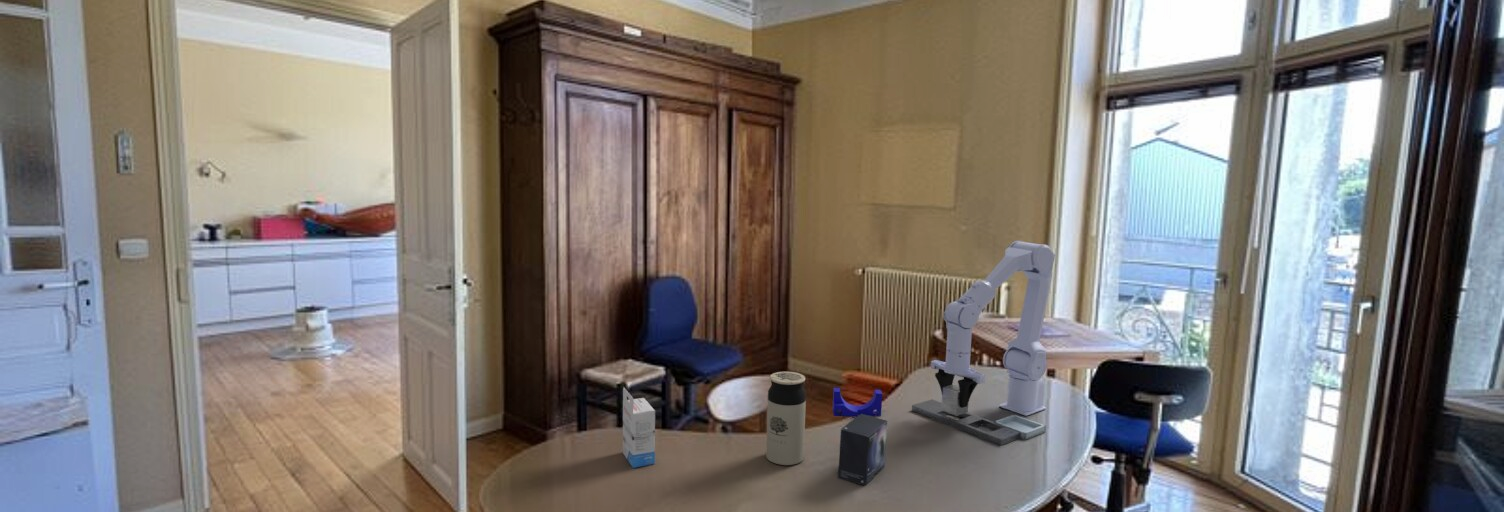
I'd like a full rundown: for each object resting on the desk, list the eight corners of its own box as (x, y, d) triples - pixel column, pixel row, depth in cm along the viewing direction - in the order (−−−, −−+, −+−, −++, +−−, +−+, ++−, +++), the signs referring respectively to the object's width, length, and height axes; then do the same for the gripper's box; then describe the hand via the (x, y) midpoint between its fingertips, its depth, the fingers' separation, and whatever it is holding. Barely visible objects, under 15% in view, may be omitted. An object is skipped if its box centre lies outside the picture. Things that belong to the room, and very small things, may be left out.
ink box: (656, 464, 137) (656, 396, 135) (632, 468, 135) (632, 399, 133) (644, 448, 145) (644, 383, 143) (621, 452, 143) (621, 386, 141)
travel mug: (783, 447, 147) (786, 368, 145) (811, 458, 142) (814, 377, 139) (758, 457, 142) (760, 376, 139) (786, 470, 136) (788, 385, 134)
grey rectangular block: (952, 406, 169) (954, 383, 168) (967, 412, 165) (969, 388, 164) (941, 410, 166) (942, 386, 165) (956, 415, 163) (957, 391, 162)
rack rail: (931, 404, 176) (932, 399, 176) (1021, 437, 156) (1021, 432, 155) (911, 410, 172) (912, 405, 172) (1001, 445, 151) (1001, 439, 151)
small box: (867, 487, 130) (869, 436, 128) (836, 478, 133) (838, 428, 132) (886, 467, 139) (889, 419, 137) (857, 459, 142) (859, 412, 141)
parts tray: (1013, 420, 166) (1013, 414, 166) (1045, 431, 160) (1045, 425, 159) (993, 427, 161) (993, 421, 161) (1025, 439, 155) (1026, 433, 154)
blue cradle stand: (833, 416, 167) (834, 393, 166) (832, 410, 171) (833, 387, 170) (881, 418, 166) (883, 395, 165) (879, 412, 170) (880, 389, 170)
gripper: (924, 346, 167) (921, 397, 169) (973, 360, 156) (969, 415, 157) (942, 342, 171) (939, 392, 173) (991, 355, 160) (987, 409, 162)
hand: (955, 403), depth 166 cm, fingers closed on grey rectangular block, 4 cm apart
